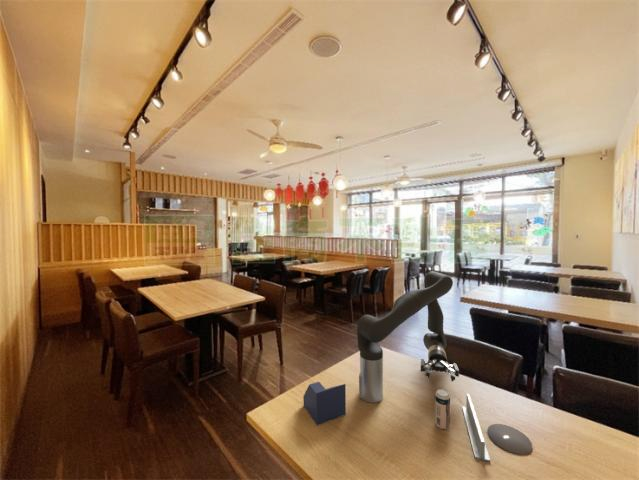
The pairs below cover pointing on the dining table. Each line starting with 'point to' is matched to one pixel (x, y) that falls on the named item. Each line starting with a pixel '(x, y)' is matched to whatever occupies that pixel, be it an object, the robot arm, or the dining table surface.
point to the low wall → (475, 432)
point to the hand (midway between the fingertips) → (440, 377)
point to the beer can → (442, 409)
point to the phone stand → (325, 402)
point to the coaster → (509, 439)
